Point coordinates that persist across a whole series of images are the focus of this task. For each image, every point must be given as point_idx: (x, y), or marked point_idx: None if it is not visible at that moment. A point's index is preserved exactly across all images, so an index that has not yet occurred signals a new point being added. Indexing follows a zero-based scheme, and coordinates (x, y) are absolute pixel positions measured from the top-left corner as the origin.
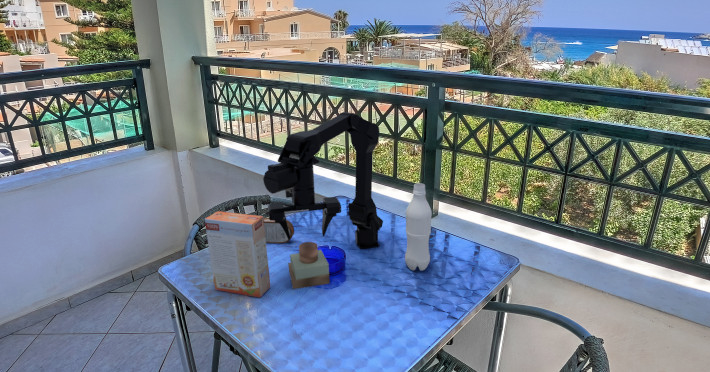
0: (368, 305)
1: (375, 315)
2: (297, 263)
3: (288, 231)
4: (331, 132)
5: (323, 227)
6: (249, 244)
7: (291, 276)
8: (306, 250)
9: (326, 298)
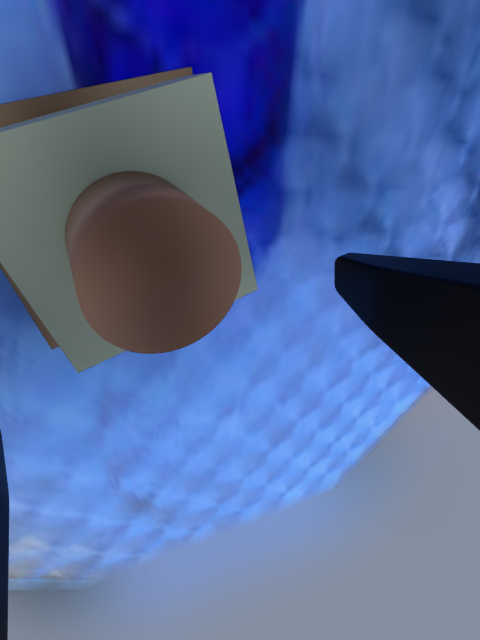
0: (319, 361)
1: (325, 392)
2: (65, 302)
3: (1, 616)
4: None
5: (418, 360)
6: None
7: (29, 308)
8: (162, 349)
9: (207, 355)
